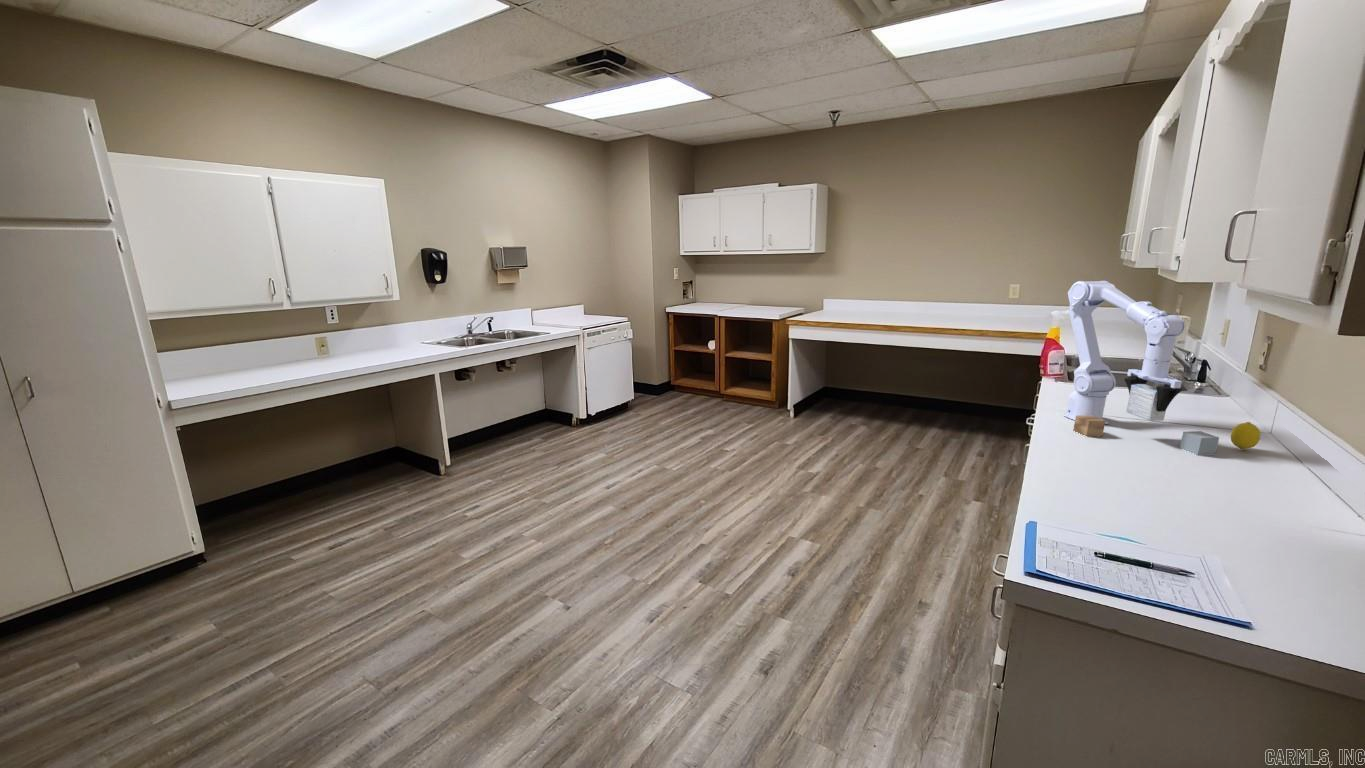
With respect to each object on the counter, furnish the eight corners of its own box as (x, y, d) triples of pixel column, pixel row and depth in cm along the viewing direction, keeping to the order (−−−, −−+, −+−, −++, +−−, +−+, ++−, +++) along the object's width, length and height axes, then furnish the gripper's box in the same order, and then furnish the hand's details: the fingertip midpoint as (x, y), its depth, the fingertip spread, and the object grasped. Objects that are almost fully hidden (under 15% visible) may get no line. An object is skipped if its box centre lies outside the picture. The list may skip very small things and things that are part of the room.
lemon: (1243, 446, 152) (1250, 419, 150) (1261, 454, 146) (1269, 425, 144) (1221, 446, 152) (1228, 418, 150) (1239, 453, 147) (1246, 425, 145)
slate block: (1179, 448, 150) (1183, 431, 149) (1196, 448, 151) (1200, 431, 150) (1197, 455, 146) (1201, 438, 144) (1214, 455, 146) (1219, 437, 145)
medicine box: (1164, 421, 152) (1171, 391, 150) (1148, 421, 152) (1155, 391, 150) (1139, 412, 160) (1146, 383, 157) (1125, 412, 159) (1131, 383, 157)
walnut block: (1073, 431, 165) (1076, 415, 164) (1088, 430, 165) (1091, 415, 164) (1085, 437, 160) (1089, 420, 159) (1102, 436, 160) (1105, 420, 159)
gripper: (1121, 354, 158) (1112, 399, 162) (1168, 365, 144) (1157, 414, 148) (1144, 354, 159) (1135, 399, 162) (1193, 364, 145) (1181, 413, 148)
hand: (1147, 406), depth 155 cm, fingers closed on medicine box, 7 cm apart
